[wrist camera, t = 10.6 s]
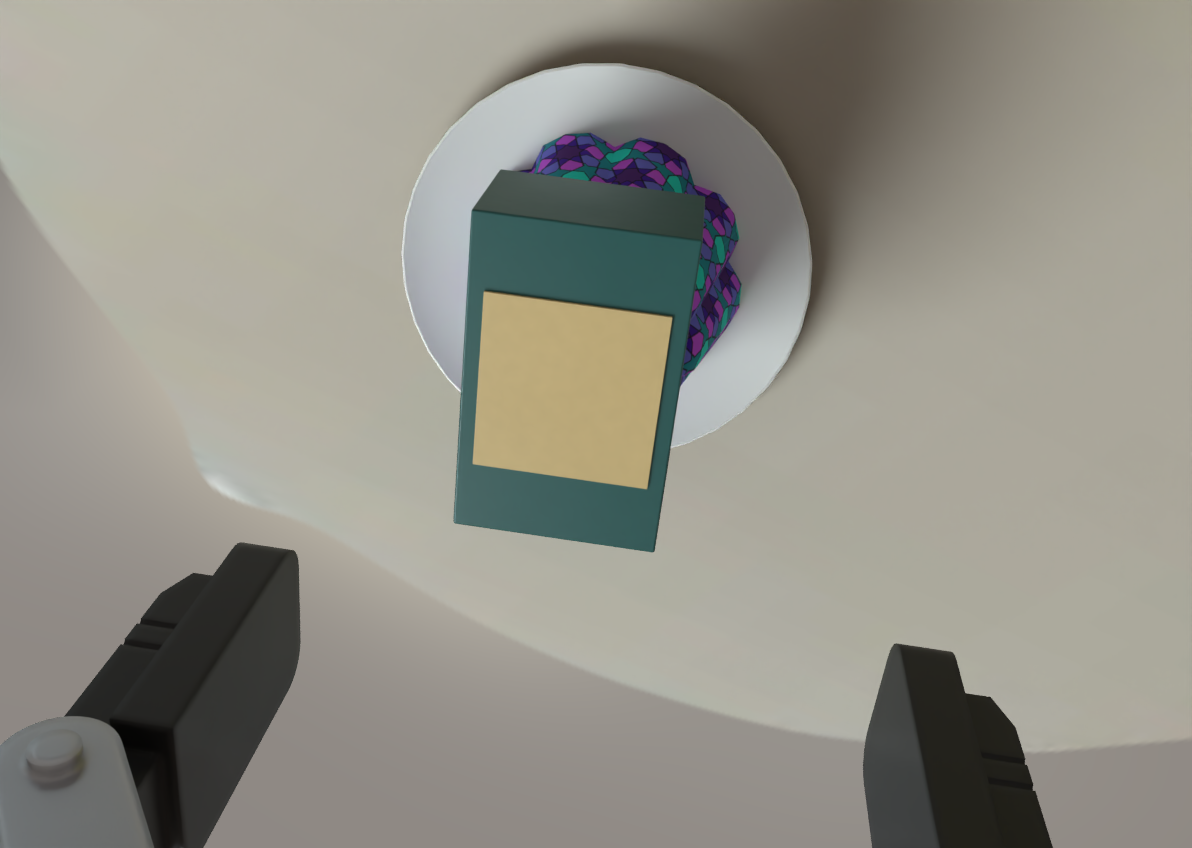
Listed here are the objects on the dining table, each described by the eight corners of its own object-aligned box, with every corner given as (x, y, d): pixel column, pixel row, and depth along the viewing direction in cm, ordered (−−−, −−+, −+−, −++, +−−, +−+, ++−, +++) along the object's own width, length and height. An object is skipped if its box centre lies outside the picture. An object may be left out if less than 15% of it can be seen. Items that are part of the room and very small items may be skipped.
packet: (705, 195, 27) (702, 241, 24) (661, 482, 31) (654, 554, 28) (499, 168, 27) (470, 209, 24) (480, 456, 31) (452, 525, 28)
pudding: (373, 77, 32) (313, 116, 27) (806, 38, 30) (820, 72, 26) (442, 453, 37) (402, 539, 33) (814, 437, 36) (827, 525, 31)
